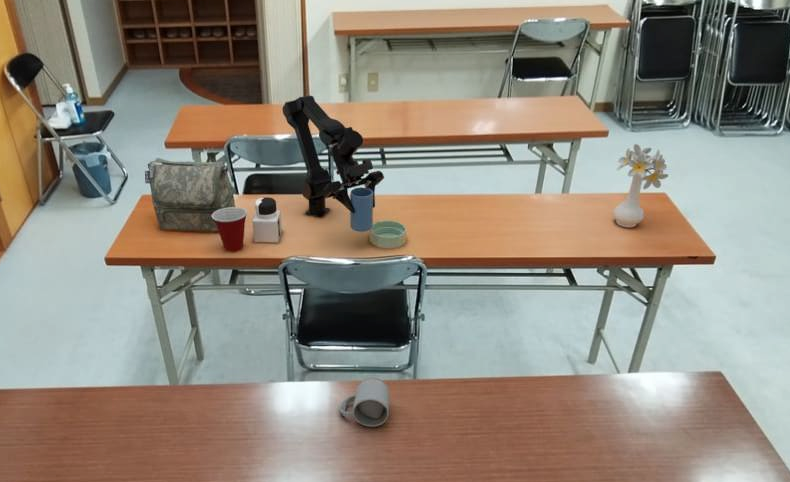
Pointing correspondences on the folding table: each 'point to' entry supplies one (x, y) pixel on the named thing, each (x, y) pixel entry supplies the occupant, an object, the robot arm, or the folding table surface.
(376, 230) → the bowl
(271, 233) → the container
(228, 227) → the plastic cup
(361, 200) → the tumbler
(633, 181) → the flower vase
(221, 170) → the lunch bag
